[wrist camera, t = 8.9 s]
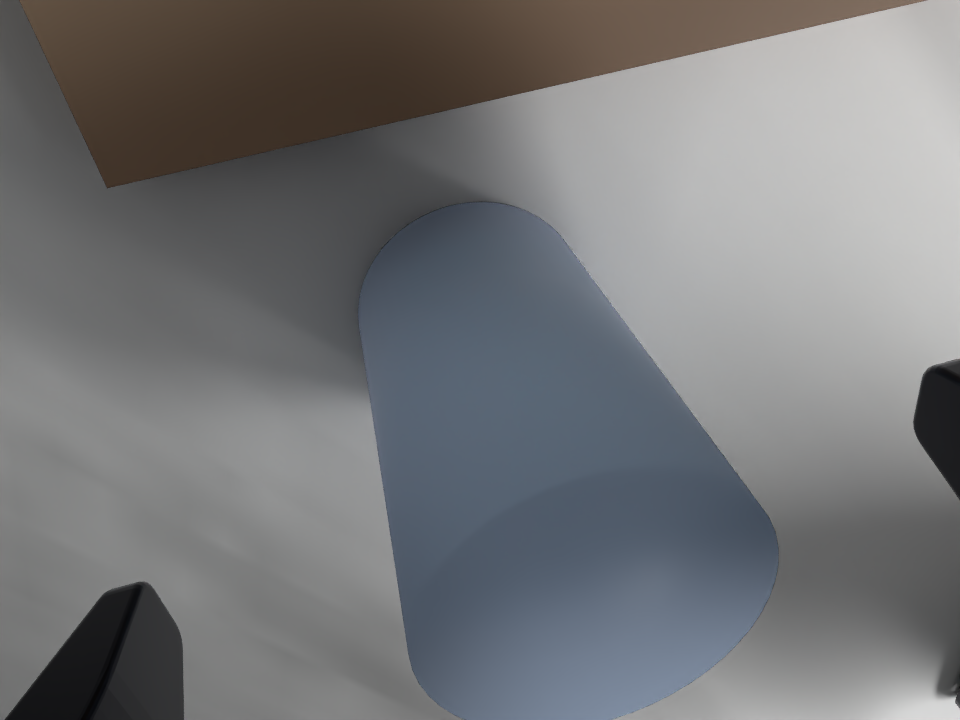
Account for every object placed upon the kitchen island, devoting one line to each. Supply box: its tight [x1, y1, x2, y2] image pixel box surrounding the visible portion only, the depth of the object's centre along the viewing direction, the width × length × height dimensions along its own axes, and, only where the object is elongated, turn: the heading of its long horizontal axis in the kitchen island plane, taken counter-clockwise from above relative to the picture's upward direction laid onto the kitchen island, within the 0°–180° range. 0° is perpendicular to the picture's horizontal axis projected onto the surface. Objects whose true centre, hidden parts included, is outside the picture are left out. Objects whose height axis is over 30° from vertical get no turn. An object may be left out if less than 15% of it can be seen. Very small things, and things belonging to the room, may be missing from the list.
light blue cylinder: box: [358, 202, 778, 720], centre depth 10 cm, size 4×4×6 cm
